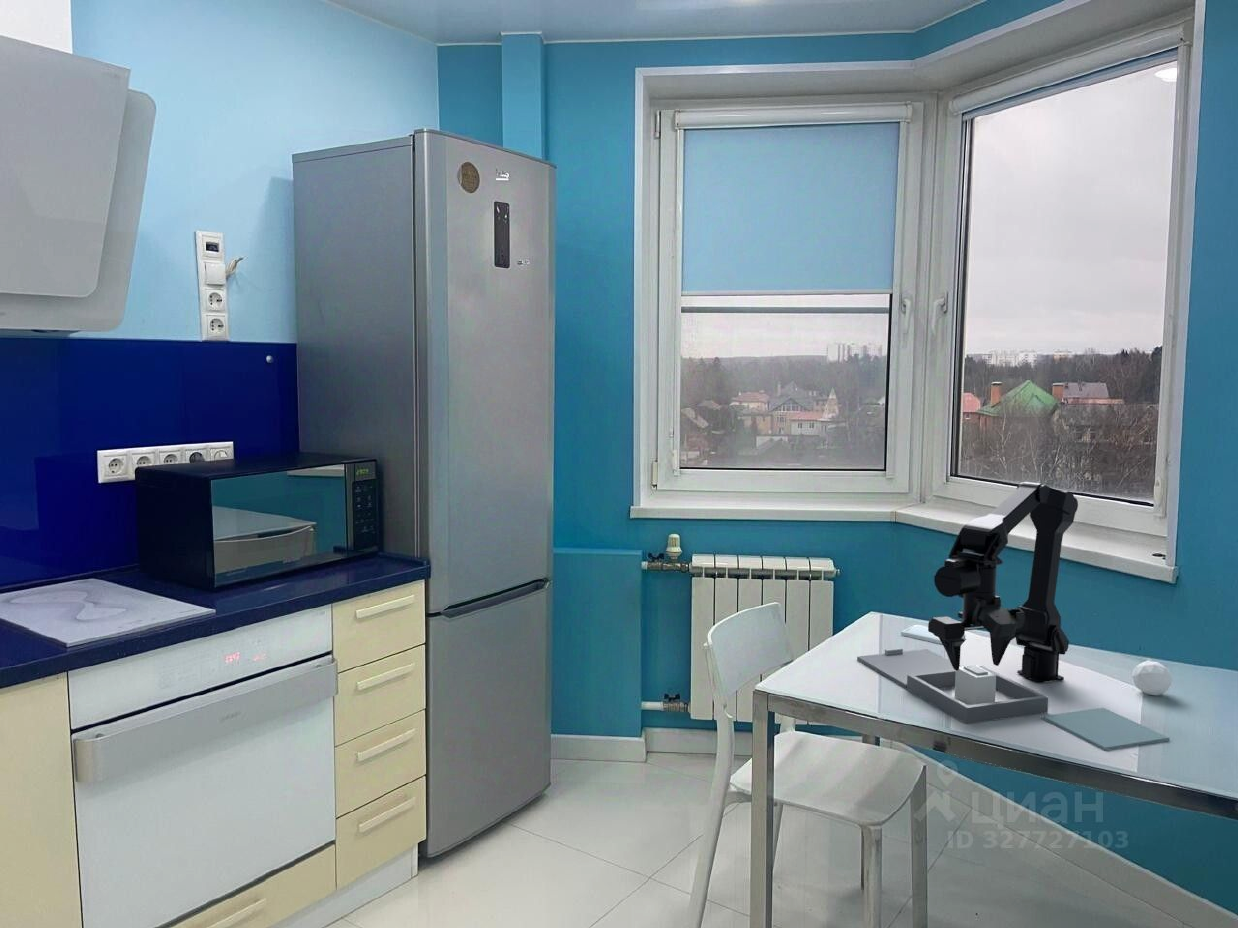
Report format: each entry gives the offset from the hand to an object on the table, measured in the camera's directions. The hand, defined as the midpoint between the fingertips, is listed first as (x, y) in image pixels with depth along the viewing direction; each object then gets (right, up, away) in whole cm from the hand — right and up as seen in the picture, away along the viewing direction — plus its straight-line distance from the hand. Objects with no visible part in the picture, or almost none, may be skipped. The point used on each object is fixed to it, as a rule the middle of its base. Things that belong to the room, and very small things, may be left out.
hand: (976, 667), depth 165 cm
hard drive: (+7, -3, +41) cm, 42 cm away
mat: (+17, -8, -13) cm, 23 cm away
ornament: (+36, -6, +4) cm, 37 cm away
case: (-3, -6, +9) cm, 11 cm away
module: (0, -7, +1) cm, 7 cm away
